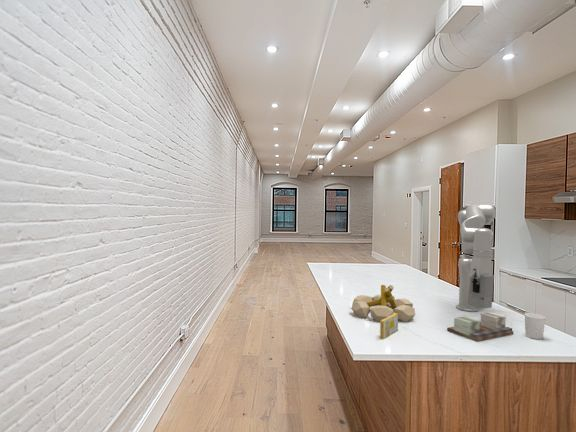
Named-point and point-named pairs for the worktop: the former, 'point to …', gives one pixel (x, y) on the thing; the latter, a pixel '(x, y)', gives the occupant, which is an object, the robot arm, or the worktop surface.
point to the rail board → (481, 327)
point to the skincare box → (482, 292)
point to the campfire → (383, 306)
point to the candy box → (388, 326)
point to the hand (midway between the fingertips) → (481, 291)
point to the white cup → (534, 325)
